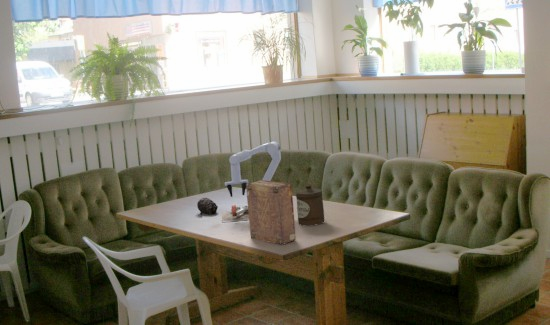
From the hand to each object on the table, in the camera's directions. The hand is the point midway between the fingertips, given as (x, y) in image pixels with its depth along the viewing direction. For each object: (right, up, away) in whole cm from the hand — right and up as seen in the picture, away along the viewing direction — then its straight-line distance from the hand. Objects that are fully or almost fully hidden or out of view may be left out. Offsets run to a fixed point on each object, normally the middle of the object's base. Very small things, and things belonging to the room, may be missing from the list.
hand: (237, 195), depth 447 cm
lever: (+3, -10, -11) cm, 15 cm away
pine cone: (-18, -12, +4) cm, 22 cm away
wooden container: (+44, -13, -40) cm, 61 cm away
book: (+22, -20, -69) cm, 75 cm away
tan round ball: (-1, -11, -6) cm, 12 cm away
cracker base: (+1, -12, -10) cm, 16 cm away
